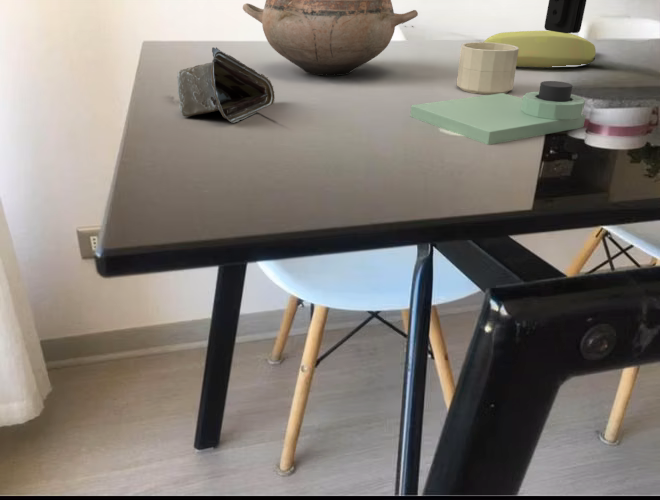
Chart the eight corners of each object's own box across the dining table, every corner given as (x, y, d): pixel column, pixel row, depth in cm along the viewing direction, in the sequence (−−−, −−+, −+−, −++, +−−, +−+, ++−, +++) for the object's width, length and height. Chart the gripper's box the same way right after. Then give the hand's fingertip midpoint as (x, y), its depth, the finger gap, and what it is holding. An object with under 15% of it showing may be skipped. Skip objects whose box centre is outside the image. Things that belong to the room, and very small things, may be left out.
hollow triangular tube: (228, 98, 77) (164, 33, 67) (277, 87, 74) (219, 17, 64) (215, 166, 73) (146, 108, 64) (267, 157, 70) (203, 95, 61)
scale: (504, 104, 76) (507, 78, 75) (591, 128, 67) (597, 100, 66) (409, 117, 69) (412, 90, 68) (492, 147, 60) (496, 116, 59)
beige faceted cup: (484, 82, 88) (489, 41, 85) (523, 93, 82) (530, 48, 80) (445, 87, 84) (449, 44, 82) (483, 98, 79) (489, 52, 76)
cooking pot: (415, 64, 99) (422, -20, 94) (410, 89, 83) (417, -12, 77) (261, 56, 103) (259, -25, 97) (226, 79, 86) (221, -19, 81)
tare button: (551, 96, 69) (554, 79, 68) (575, 102, 66) (579, 85, 65) (531, 99, 67) (534, 82, 66) (555, 105, 65) (558, 88, 64)
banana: (592, 23, 91) (456, 31, 100) (588, 63, 92) (454, 67, 101) (597, 39, 103) (476, 44, 112) (594, 73, 104) (474, 76, 113)
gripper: (584, -208, 49) (539, 39, 57) (693, -182, 56) (639, 34, 64) (512, -195, 55) (480, 28, 63) (619, -172, 62) (579, 25, 70)
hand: (561, 31), depth 63 cm, fingers closed
